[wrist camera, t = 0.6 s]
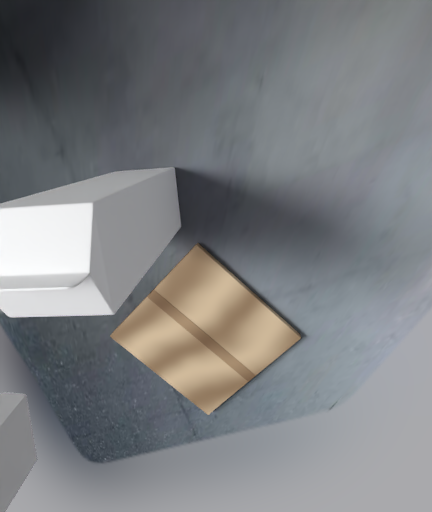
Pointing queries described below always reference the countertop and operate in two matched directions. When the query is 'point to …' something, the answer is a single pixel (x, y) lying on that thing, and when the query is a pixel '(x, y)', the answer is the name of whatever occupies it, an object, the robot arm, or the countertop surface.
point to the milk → (85, 242)
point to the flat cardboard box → (204, 331)
